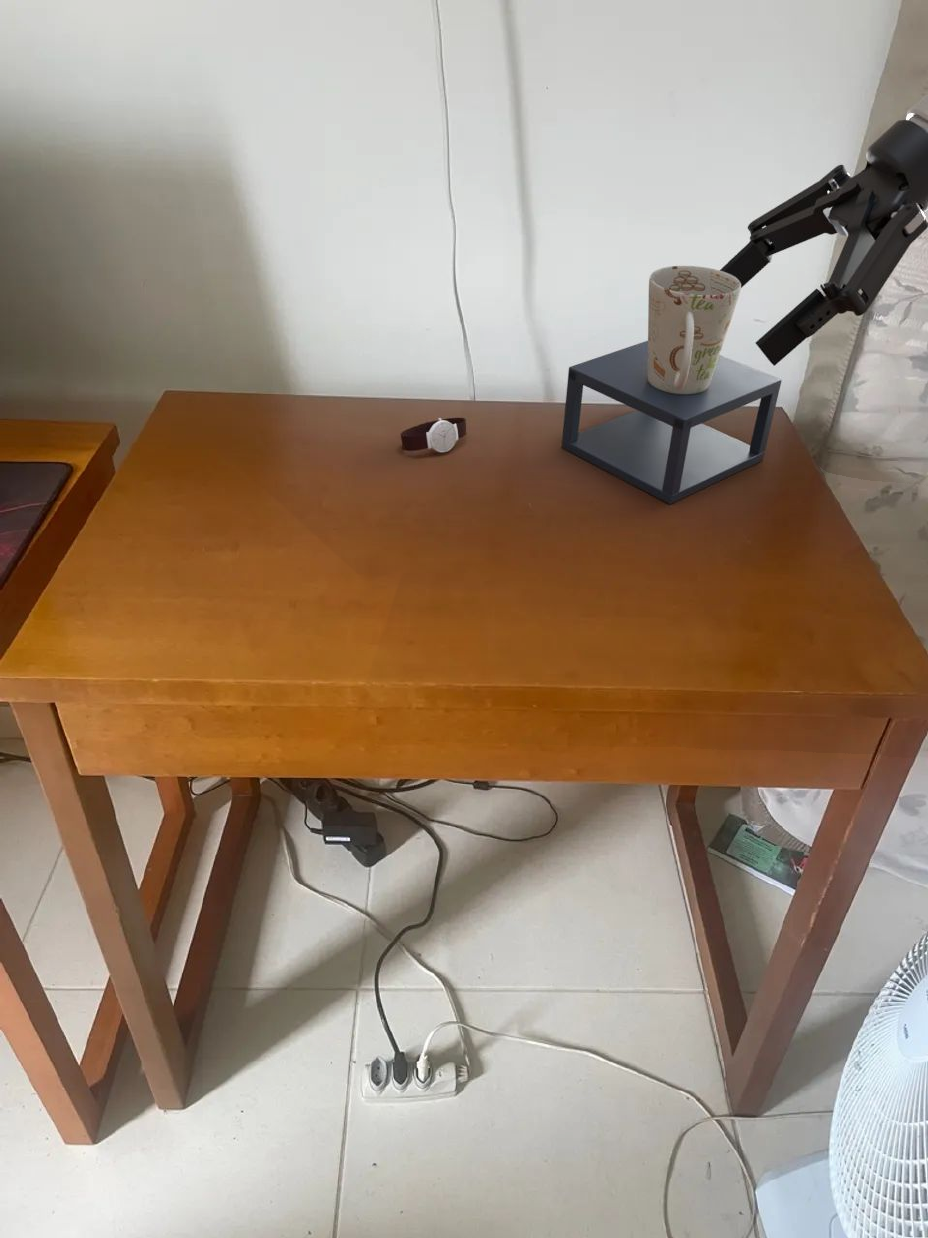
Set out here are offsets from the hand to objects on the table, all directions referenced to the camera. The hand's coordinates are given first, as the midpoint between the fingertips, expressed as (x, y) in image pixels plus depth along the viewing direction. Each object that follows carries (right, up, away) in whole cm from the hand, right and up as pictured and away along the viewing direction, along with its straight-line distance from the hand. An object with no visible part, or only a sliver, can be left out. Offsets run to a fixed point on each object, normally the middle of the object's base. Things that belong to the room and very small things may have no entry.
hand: (733, 326), depth 92 cm
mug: (-4, -5, +3) cm, 8 cm away
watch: (-28, -9, +12) cm, 32 cm away
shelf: (-4, -10, +12) cm, 16 cm away
